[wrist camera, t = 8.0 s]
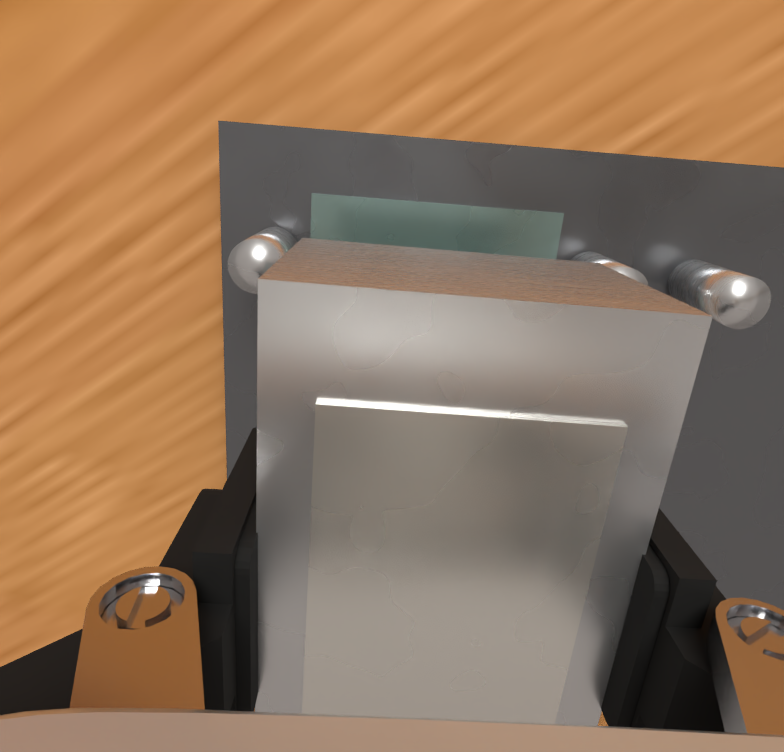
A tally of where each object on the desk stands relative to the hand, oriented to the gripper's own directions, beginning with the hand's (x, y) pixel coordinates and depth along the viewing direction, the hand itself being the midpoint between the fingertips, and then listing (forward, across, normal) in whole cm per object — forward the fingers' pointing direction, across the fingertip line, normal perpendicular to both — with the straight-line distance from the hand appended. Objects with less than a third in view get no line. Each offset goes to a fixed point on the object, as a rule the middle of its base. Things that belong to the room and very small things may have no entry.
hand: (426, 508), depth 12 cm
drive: (+1, 0, 0) cm, 1 cm away
